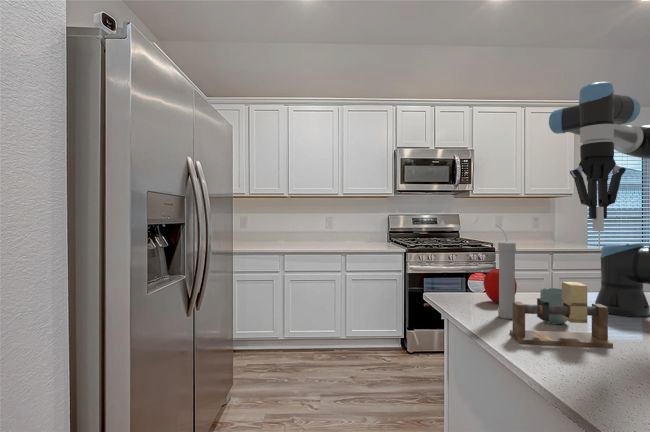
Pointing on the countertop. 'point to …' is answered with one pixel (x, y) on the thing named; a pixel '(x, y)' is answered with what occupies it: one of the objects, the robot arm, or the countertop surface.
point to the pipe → (506, 278)
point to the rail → (561, 338)
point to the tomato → (493, 285)
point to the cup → (553, 303)
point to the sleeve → (575, 301)
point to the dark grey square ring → (545, 309)
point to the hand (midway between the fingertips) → (598, 230)
